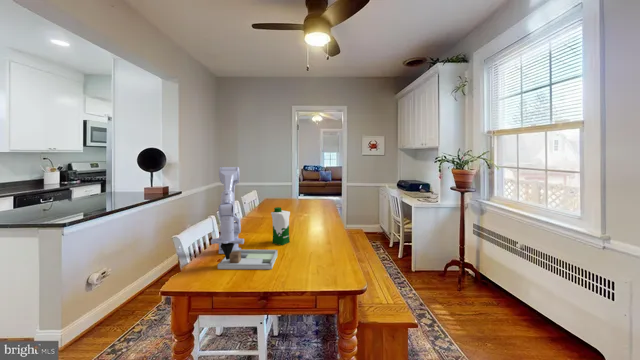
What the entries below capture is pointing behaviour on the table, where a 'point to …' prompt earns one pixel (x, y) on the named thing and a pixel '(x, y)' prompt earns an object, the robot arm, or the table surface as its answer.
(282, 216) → the milk carton
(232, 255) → the walnut block
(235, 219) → the robot arm
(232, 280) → the table surface
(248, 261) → the tray
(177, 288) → the table surface
